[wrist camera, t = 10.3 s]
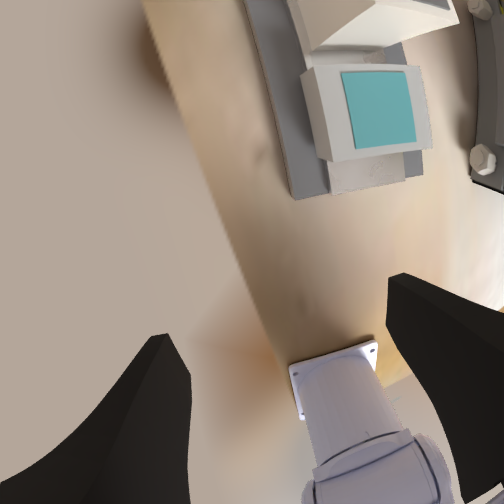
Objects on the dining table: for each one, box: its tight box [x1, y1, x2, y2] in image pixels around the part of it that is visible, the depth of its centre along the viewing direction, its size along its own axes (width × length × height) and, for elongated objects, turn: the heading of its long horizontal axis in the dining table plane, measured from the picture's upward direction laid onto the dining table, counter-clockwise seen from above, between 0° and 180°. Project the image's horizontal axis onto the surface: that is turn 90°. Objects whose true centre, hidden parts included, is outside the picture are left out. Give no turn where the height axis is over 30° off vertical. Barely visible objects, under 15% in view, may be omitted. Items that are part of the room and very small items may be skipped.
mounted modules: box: [300, 64, 433, 163], centre depth 9 cm, size 16×6×2 cm, turn 13°
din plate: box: [243, 0, 423, 200], centre depth 11 cm, size 21×9×1 cm, turn 13°
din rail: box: [283, 0, 405, 195], centre depth 11 cm, size 21×5×1 cm, turn 13°
